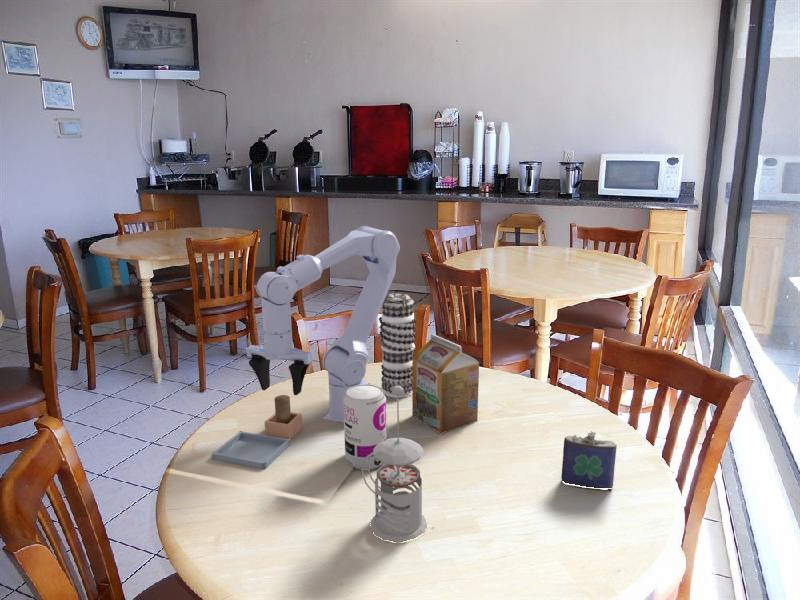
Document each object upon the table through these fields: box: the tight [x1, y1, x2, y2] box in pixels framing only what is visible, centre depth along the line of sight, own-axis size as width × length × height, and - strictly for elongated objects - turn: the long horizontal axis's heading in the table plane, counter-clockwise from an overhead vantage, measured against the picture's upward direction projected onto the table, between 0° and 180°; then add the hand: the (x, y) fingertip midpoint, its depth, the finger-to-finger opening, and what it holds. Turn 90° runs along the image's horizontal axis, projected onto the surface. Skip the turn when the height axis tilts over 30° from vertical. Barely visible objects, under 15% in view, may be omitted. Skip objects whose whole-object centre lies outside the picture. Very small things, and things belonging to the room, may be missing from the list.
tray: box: [211, 430, 291, 470], centre depth 124 cm, size 12×10×2 cm
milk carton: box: [411, 333, 480, 434], centre depth 137 cm, size 11×11×19 cm
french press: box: [361, 386, 428, 542], centre depth 99 cm, size 10×12×25 cm
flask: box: [561, 431, 617, 489], centre depth 111 cm, size 9×3×11 cm, turn 74°
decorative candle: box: [378, 292, 418, 399], centre depth 151 cm, size 9×9×25 cm
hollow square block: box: [264, 411, 303, 441], centre depth 132 cm, size 6×6×4 cm
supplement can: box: [343, 384, 388, 471], centre depth 120 cm, size 8×8×15 cm
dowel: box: [274, 394, 292, 424], centre depth 131 cm, size 3×3×8 cm
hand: (281, 390), depth 130 cm, fingers open, 7 cm apart
